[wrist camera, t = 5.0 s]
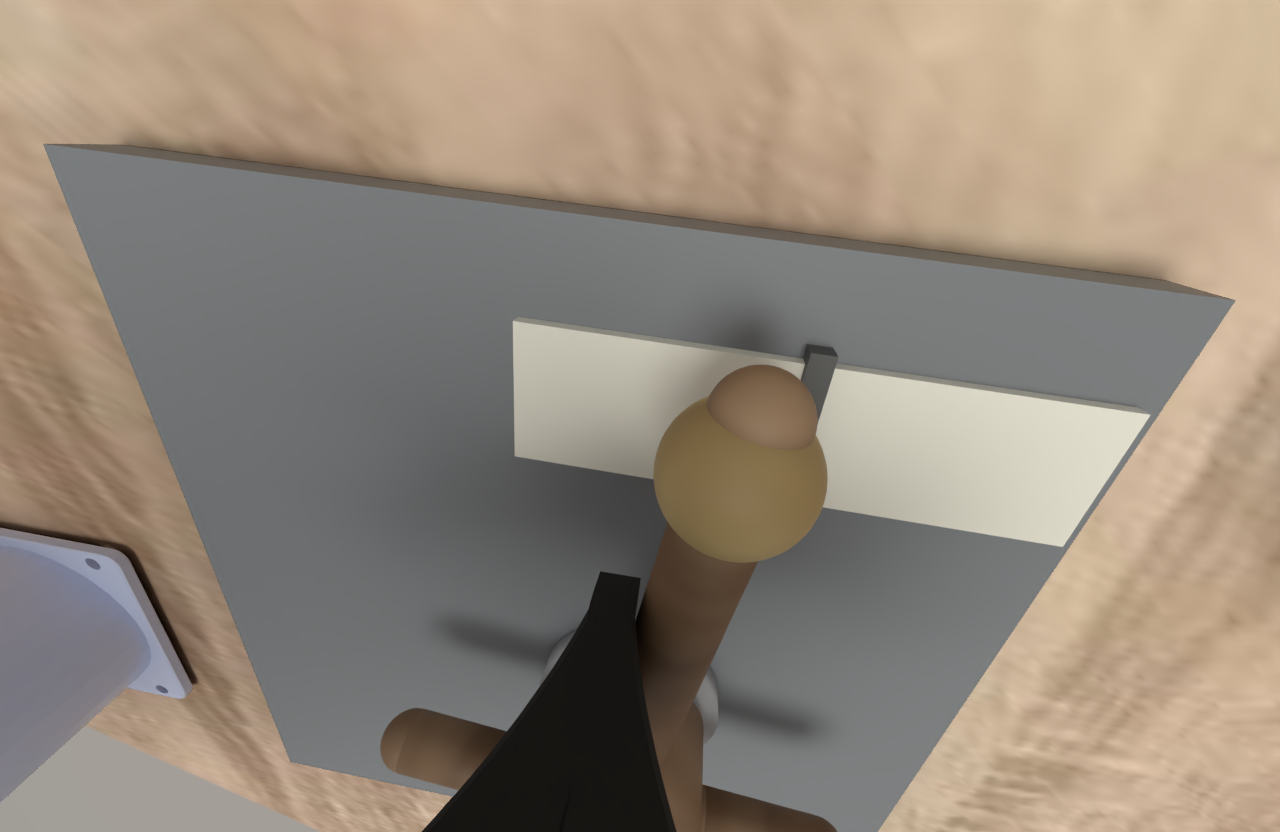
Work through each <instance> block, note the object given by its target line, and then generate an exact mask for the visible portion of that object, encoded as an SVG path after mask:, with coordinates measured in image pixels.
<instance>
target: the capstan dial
mask: <svg viewBox="0 0 1280 832" xmlns="http://www.w3.org/2000/svg"><path fill="white" fill-rule="evenodd" d="M817 423H818V417H817V410H816V405H815V402H814V400H813V397H812V395H811V393H810V392H809V390H808V389H807V387H806V386H805V384H804V383H803V382H802V381H801V380H799V379H798V378H797V377H796V376H795V375H793V374H792V373H790V372H788V371H786V370H784V369H782V368H779V367H776V366H772V365H750V366H746V367H743V368H739V369H737V370H735V371H733V372H732V373H730V374H728V375H726V376H725V377H724V378H723V379H722V380H721V381H720V382H719V383H718V384H717V385H716V386H715V388H714V389H713V390H712V392H711V394H710V396H707V397H705V398H702V399H700V400H698V401H697V402H695V403H693V404H692V405H690V406H689V407H688V408H686V409H685V410H684V411H682V412H681V413H680V414H679V415H678V416H677V417H676V418H675V419H674V420H673V422H672V423H671V424H670V426H669V427H668V428H667V430H666V432H665V433H664V435H663V437H662V439H661V441H660V444H659V447H658V449H657V453H656V457H655V462H654V477H653V478H654V487H655V493H656V497H657V500H658V503H659V506H660V508H661V510H662V513H663V515H664V517H665V518H666V520H667V525H666V528H665V531H664V534H663V538H662V541H661V544H660V547H659V550H658V553H657V556H656V559H655V562H654V565H653V568H652V571H651V574H650V578H649V581H648V584H647V587H646V590H645V593H644V596H643V599H642V602H641V605H640V608H639V611H638V614H637V618H636V621H635V623H636V636H637V647H638V655H639V663H640V669H641V676H642V682H643V689H644V695H645V701H646V706H647V712H648V717H649V722H650V726H651V731H652V736H653V741H654V745H655V750H656V754H657V759H658V763H659V767H660V771H661V775H662V779H663V783H664V787H665V791H666V795H667V799H668V802H669V806H670V810H671V813H672V817H673V821H674V824H675V828H676V831H677V832H837V830H836V829H835V827H834V826H833V825H832V824H831V823H829V822H828V821H827V820H825V819H824V818H822V817H819V816H817V815H813V814H810V813H806V812H802V811H799V810H795V809H791V808H788V807H784V806H780V805H777V804H773V803H769V802H765V801H762V800H758V799H754V798H751V797H747V796H743V795H740V794H736V793H732V792H729V791H725V790H721V789H718V788H714V787H710V786H707V785H703V784H702V782H703V734H704V727H703V720H702V716H701V714H700V712H699V710H698V708H697V707H696V705H695V704H694V702H693V701H694V699H695V697H696V695H697V693H698V690H699V688H700V686H701V684H702V682H703V680H704V677H705V675H706V673H707V671H708V669H709V667H710V664H711V662H712V660H713V658H714V656H715V654H716V651H717V649H718V647H719V645H720V643H721V641H722V638H723V636H724V634H725V632H726V630H727V628H728V625H729V623H730V621H731V619H732V617H733V615H734V612H735V610H736V608H737V606H738V604H739V602H740V599H741V597H742V595H743V593H744V591H745V589H746V586H747V584H748V582H749V580H750V578H751V576H752V573H753V571H754V569H755V567H756V565H757V563H758V561H762V560H765V559H769V558H772V557H774V556H777V555H779V554H781V553H783V552H785V551H787V550H789V549H790V548H791V547H793V546H794V545H796V544H797V543H798V542H799V541H800V540H801V539H802V538H803V537H804V536H805V535H806V534H807V533H808V532H809V531H810V529H811V528H812V527H813V525H814V523H815V522H816V520H817V518H818V517H819V515H820V512H821V510H822V508H823V504H824V501H825V497H826V493H827V480H828V474H827V465H826V460H825V456H824V453H823V449H822V447H821V445H820V442H819V440H818V438H817V436H816V435H815V434H816V431H817ZM506 732H507V731H504V730H501V729H497V728H493V727H490V726H486V725H482V724H479V723H475V722H471V721H468V720H464V719H460V718H457V717H453V716H449V715H446V714H442V713H438V712H435V711H431V710H427V709H422V708H412V709H409V710H406V711H404V712H402V713H400V714H399V715H397V716H396V717H395V718H394V719H393V720H392V721H391V722H390V723H389V724H388V726H387V728H386V729H385V731H384V733H383V736H382V739H381V745H380V752H381V758H382V760H383V763H384V764H385V765H386V767H387V768H388V769H390V770H391V771H392V772H395V773H397V774H400V775H404V776H408V777H411V778H415V779H419V780H422V781H426V782H430V783H433V784H437V785H441V786H444V787H448V788H452V789H455V790H459V789H460V788H461V787H462V786H463V785H464V783H465V782H466V781H467V780H468V779H469V778H470V776H471V775H472V774H473V773H474V772H475V770H476V769H477V768H478V767H479V766H480V764H481V763H482V762H483V761H484V759H485V758H486V757H487V756H488V755H489V753H490V752H491V751H492V750H493V748H494V747H495V746H496V745H497V743H498V742H499V741H500V740H501V738H502V737H503V736H504V735H505V733H506Z"/></svg>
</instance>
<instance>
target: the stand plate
mask: <svg viewBox="0 0 1280 832" xmlns="http://www.w3.org/2000/svg"><path fill="white" fill-rule="evenodd" d="M43 145H44V147H45V150H46V152H47V155H48V157H49V160H50V162H51V165H52V167H53V170H54V172H55V175H56V177H57V180H58V182H59V185H60V187H61V190H62V192H63V195H64V197H65V200H66V202H67V205H68V207H69V210H70V212H71V215H72V217H73V220H74V222H75V225H76V227H77V230H78V232H79V235H80V237H81V240H82V242H83V245H84V247H85V250H86V252H87V255H88V257H89V260H90V262H91V265H92V267H93V270H94V272H95V275H96V277H97V280H98V282H99V285H100V287H101V290H102V292H103V295H104V297H105V300H106V302H107V305H108V307H109V310H110V312H111V315H112V317H113V320H114V322H115V325H116V327H117V330H118V332H119V335H120V337H121V340H122V342H123V345H124V347H125V350H126V352H127V355H128V357H129V360H130V362H131V365H132V367H133V370H134V372H135V375H136V377H137V380H138V382H139V385H140V387H141V390H142V392H143V395H144V397H145V400H146V402H147V405H148V407H149V409H150V412H151V414H152V417H153V419H154V422H155V424H156V427H157V429H158V432H159V434H160V437H161V439H162V442H163V444H164V447H165V449H166V452H167V454H168V457H169V459H170V462H171V464H172V467H173V469H174V472H175V474H176V477H177V479H178V482H179V484H180V487H181V489H182V492H183V494H184V497H185V499H186V502H187V504H188V507H189V509H190V512H191V514H192V517H193V519H194V522H195V524H196V527H197V529H198V532H199V534H200V537H201V539H202V542H203V544H204V547H205V549H206V552H207V554H208V557H209V559H210V562H211V564H212V567H213V569H214V572H215V574H216V577H217V579H218V582H219V584H220V587H221V589H222V592H223V594H224V597H225V599H226V602H227V604H228V607H229V609H230V612H231V614H232V617H233V619H234V622H235V624H236V627H237V629H238V632H239V634H240V637H241V639H242V642H243V644H244V647H245V649H246V652H247V654H248V657H249V659H250V662H251V664H252V667H253V669H254V672H255V674H256V677H257V679H258V682H259V684H260V687H261V689H262V692H263V694H264V697H265V699H266V702H267V704H268V707H269V709H270V712H271V714H272V717H273V719H274V722H275V724H276V727H277V729H278V732H279V734H280V737H281V739H282V742H283V744H284V747H285V749H286V752H287V754H288V757H289V759H290V762H293V763H298V764H303V765H308V766H312V767H317V768H322V769H326V770H331V771H336V772H340V773H345V774H350V775H354V776H359V777H364V778H368V779H373V780H378V781H382V782H387V783H392V784H396V785H401V786H406V787H410V788H415V789H420V790H425V791H429V792H434V793H439V794H443V795H448V796H454V795H455V794H456V793H457V791H458V790H455V789H452V788H448V787H444V786H441V785H437V784H433V783H430V782H426V781H422V780H419V779H415V778H411V777H408V776H404V775H400V774H397V773H395V772H392V771H391V770H390V769H388V768H387V767H386V765H385V764H384V763H383V760H382V758H381V752H380V745H381V739H382V736H383V733H384V731H385V729H386V728H387V726H388V724H389V723H390V722H391V721H392V720H393V719H394V718H395V717H396V716H397V715H399V714H400V713H402V712H404V711H406V710H409V709H412V708H422V709H427V710H431V711H435V712H438V713H442V714H446V715H449V716H453V717H457V718H460V719H464V720H468V721H471V722H475V723H479V724H482V725H486V726H490V727H493V728H497V729H501V730H504V731H508V729H509V728H510V727H511V725H512V724H513V723H514V722H515V720H516V719H517V718H518V716H519V715H520V713H521V712H522V711H523V709H524V708H525V706H526V705H527V704H528V702H529V701H530V699H531V698H532V697H533V695H534V694H535V693H536V691H537V690H538V688H539V687H540V686H541V684H542V683H543V681H544V680H545V679H546V677H547V676H548V674H549V673H550V671H551V670H552V668H553V667H554V665H555V664H556V662H557V660H558V659H559V657H560V656H561V654H562V653H563V651H564V649H565V648H566V646H567V645H568V643H569V641H570V640H571V638H572V637H573V635H574V634H575V632H576V630H577V628H578V627H579V625H580V623H581V621H582V620H583V618H584V616H585V614H586V612H587V611H588V609H589V605H590V601H591V598H592V595H593V592H594V588H595V585H596V582H597V579H598V576H599V573H600V571H602V572H608V573H614V574H620V575H626V576H632V577H638V578H641V581H640V588H639V595H638V602H637V609H636V616H635V621H636V618H637V614H638V611H639V608H640V605H641V602H642V599H643V596H644V593H645V590H646V587H647V584H648V581H649V578H650V574H651V571H652V568H653V565H654V562H655V559H656V556H657V553H658V550H659V547H660V544H661V541H662V538H663V534H664V531H665V528H666V525H667V520H666V518H665V517H664V515H663V513H662V510H661V508H660V506H659V503H658V500H657V497H656V493H655V487H654V478H653V477H654V462H655V457H656V453H657V449H658V447H659V444H660V441H661V439H662V437H663V435H664V433H665V432H666V430H667V428H668V427H669V426H670V424H671V423H672V422H673V420H674V419H675V418H676V417H677V416H678V415H679V414H680V413H681V412H682V411H684V410H685V409H686V408H688V407H689V406H690V405H692V404H693V403H695V402H697V401H698V400H700V399H702V398H705V397H707V396H710V394H711V392H712V390H713V389H714V388H715V386H716V385H717V384H718V383H719V382H720V381H721V380H722V379H723V378H724V377H725V376H726V375H728V374H730V373H732V372H733V371H735V370H737V369H739V368H743V367H746V366H750V365H772V366H776V367H779V368H782V369H784V370H786V371H788V372H790V373H792V374H793V375H795V376H796V377H797V378H798V379H799V380H801V381H802V382H803V383H804V384H805V386H806V387H807V389H808V390H809V392H810V393H811V395H812V397H813V400H814V402H815V405H816V410H817V417H818V423H817V431H816V434H815V435H816V436H817V438H818V440H819V442H820V445H821V447H822V449H823V453H824V456H825V460H826V465H827V474H828V480H827V493H826V497H825V501H824V504H823V508H822V510H821V512H820V515H819V517H818V518H817V520H816V522H815V523H814V525H813V527H812V528H811V529H810V531H809V532H808V533H807V534H806V535H805V536H804V537H803V538H802V539H801V540H800V541H799V542H798V543H797V544H796V545H794V546H793V547H791V548H790V549H789V550H787V551H785V552H783V553H781V554H779V555H777V556H774V557H772V558H769V559H765V560H762V561H758V563H757V565H756V567H755V569H754V571H753V573H752V576H751V578H750V580H749V582H748V584H747V586H746V589H745V591H744V593H743V595H742V597H741V599H740V602H739V604H738V606H737V608H736V610H735V612H734V615H733V617H732V619H731V621H730V623H729V625H728V628H727V630H726V632H725V634H724V636H723V638H722V641H721V643H720V645H719V647H718V649H717V651H716V654H715V656H714V658H713V660H712V662H711V664H710V667H709V669H708V671H707V673H706V675H705V677H704V680H703V682H702V684H701V686H700V688H699V690H698V693H697V695H696V697H695V699H694V701H693V702H694V704H695V705H696V707H697V708H698V710H699V712H700V714H701V716H702V720H703V727H704V734H703V782H702V784H703V785H707V786H710V787H714V788H718V789H721V790H725V791H729V792H732V793H736V794H740V795H743V796H747V797H751V798H754V799H758V800H762V801H765V802H769V803H773V804H777V805H780V806H784V807H788V808H791V809H795V810H799V811H802V812H806V813H810V814H813V815H817V816H819V817H822V818H824V819H825V820H827V821H828V822H829V823H831V824H832V825H833V826H834V827H835V829H836V830H837V832H878V830H879V829H880V827H881V826H882V824H883V823H884V821H885V820H886V819H887V817H888V816H889V814H890V813H891V811H892V810H893V808H894V807H895V805H896V804H897V802H898V801H899V799H900V798H901V796H902V795H903V793H904V792H905V790H906V789H907V787H908V786H909V784H910V783H911V781H912V780H913V778H914V777H915V775H916V774H917V773H918V771H919V770H920V768H921V767H922V765H923V764H924V762H925V761H926V759H927V758H928V756H929V755H930V753H931V752H932V750H933V749H934V747H935V746H936V744H937V743H938V741H939V740H940V738H941V737H942V735H943V734H944V732H945V731H946V729H947V728H948V727H949V725H950V724H951V722H952V721H953V719H954V718H955V716H956V715H957V713H958V712H959V710H960V709H961V707H962V706H963V704H964V703H965V701H966V700H967V698H968V697H969V695H970V694H971V692H972V691H973V689H974V688H975V686H976V685H977V683H978V682H979V681H980V679H981V678H982V676H983V675H984V673H985V672H986V670H987V669H988V667H989V666H990V664H991V663H992V661H993V660H994V658H995V657H996V655H997V654H998V652H999V651H1000V649H1001V648H1002V646H1003V645H1004V643H1005V642H1006V640H1007V639H1008V637H1009V636H1010V635H1011V633H1012V632H1013V630H1014V629H1015V627H1016V626H1017V624H1018V623H1019V621H1020V620H1021V618H1022V617H1023V615H1024V614H1025V612H1026V611H1027V609H1028V608H1029V606H1030V605H1031V603H1032V602H1033V600H1034V599H1035V597H1036V596H1037V594H1038V593H1039V591H1040V590H1041V589H1042V587H1043V586H1044V584H1045V583H1046V581H1047V580H1048V578H1049V577H1050V575H1051V574H1052V572H1053V571H1054V569H1055V568H1056V566H1057V565H1058V563H1059V562H1060V560H1061V559H1062V557H1063V556H1064V554H1065V553H1066V551H1067V550H1068V548H1069V547H1070V545H1071V544H1072V543H1073V541H1074V540H1075V538H1076V537H1077V535H1078V534H1079V532H1080V531H1081V529H1082V528H1083V526H1084V525H1085V523H1086V522H1087V520H1088V519H1089V517H1090V516H1091V514H1092V513H1093V511H1094V510H1095V508H1096V507H1097V505H1098V504H1099V502H1100V501H1101V499H1102V498H1103V496H1104V495H1105V494H1106V492H1107V491H1108V489H1109V488H1110V486H1111V485H1112V483H1113V482H1114V480H1115V479H1116V477H1117V476H1118V474H1119V473H1120V471H1121V470H1122V468H1123V467H1124V465H1125V464H1126V462H1127V461H1128V459H1129V458H1130V456H1131V455H1132V453H1133V452H1134V450H1135V449H1136V448H1137V446H1138V445H1139V443H1140V442H1141V440H1142V439H1143V437H1144V436H1145V434H1146V433H1147V431H1148V430H1149V428H1150V427H1151V425H1152V424H1153V422H1154V421H1155V419H1156V418H1157V416H1158V415H1159V413H1160V412H1161V410H1162V409H1163V407H1164V406H1165V404H1166V403H1167V402H1168V400H1169V399H1170V397H1171V396H1172V394H1173V393H1174V391H1175V390H1176V388H1177V387H1178V385H1179V384H1180V382H1181V381H1182V379H1183V378H1184V376H1185V375H1186V373H1187V372H1188V370H1189V369H1190V367H1191V366H1192V364H1193V363H1194V361H1195V360H1196V358H1197V357H1198V356H1199V354H1200V353H1201V351H1202V350H1203V348H1204V347H1205V345H1206V344H1207V342H1208V341H1209V339H1210V338H1211V336H1212V335H1213V333H1214V332H1215V330H1216V329H1217V327H1218V326H1219V324H1220V323H1221V321H1222V320H1223V318H1224V317H1225V315H1226V314H1227V312H1228V311H1229V310H1230V308H1231V307H1232V305H1233V304H1234V302H1235V301H1236V300H1232V299H1229V298H1225V297H1222V296H1218V295H1215V294H1211V293H1208V292H1204V291H1201V290H1197V289H1194V288H1190V287H1187V286H1183V285H1180V284H1176V283H1173V282H1169V281H1166V280H1158V279H1151V278H1143V277H1135V276H1127V275H1120V274H1112V273H1104V272H1097V271H1089V270H1081V269H1074V268H1066V267H1058V266H1051V265H1043V264H1035V263H1027V262H1020V261H1012V260H1004V259H997V258H989V257H981V256H974V255H966V254H958V253H950V252H943V251H935V250H927V249H920V248H912V247H904V246H897V245H889V244H881V243H874V242H866V241H858V240H850V239H843V238H835V237H827V236H820V235H812V234H804V233H797V232H789V231H781V230H774V229H766V228H758V227H750V226H743V225H735V224H727V223H720V222H712V221H704V220H697V219H689V218H681V217H674V216H666V215H658V214H650V213H643V212H635V211H627V210H620V209H612V208H604V207H597V206H589V205H581V204H573V203H566V202H558V201H550V200H543V199H535V198H527V197H520V196H512V195H504V194H497V193H489V192H481V191H473V190H466V189H458V188H450V187H443V186H435V185H427V184H420V183H412V182H404V181H397V180H389V179H381V178H373V177H366V176H358V175H350V174H343V173H335V172H327V171H320V170H312V169H304V168H296V167H289V166H281V165H273V164H266V163H258V162H250V161H243V160H235V159H227V158H220V157H212V156H204V155H196V154H189V153H181V152H173V151H166V150H158V149H150V148H143V147H135V146H127V145H97V144H43Z"/></svg>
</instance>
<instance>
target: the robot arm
mask: <svg viewBox="0 0 1280 832" xmlns="http://www.w3.org/2000/svg"><path fill="white" fill-rule="evenodd" d="M640 581H641V578H638V577H632V576H626V575H620V574H614V573H608V572H602V571H600V573H599V576H598V579H597V582H596V585H595V588H594V592H593V595H592V598H591V601H590V605H589V609H588V611H587V612H586V614H585V616H584V618H583V620H582V621H581V623H580V625H579V627H578V628H577V630H576V632H575V634H574V635H573V637H572V638H571V640H570V641H569V643H568V645H567V646H566V648H565V649H564V651H563V653H562V654H561V656H560V657H559V659H558V660H557V662H556V664H555V665H554V667H553V668H552V670H551V671H550V673H549V674H548V676H547V677H546V679H545V680H544V681H543V683H542V684H541V686H540V687H539V688H538V690H537V691H536V693H535V694H534V695H533V697H532V698H531V699H530V701H529V702H528V704H527V705H526V706H525V708H524V709H523V711H522V712H521V713H520V715H519V716H518V718H517V719H516V720H515V722H514V723H513V724H512V725H511V727H510V728H509V729H508V731H507V732H506V733H505V735H504V736H503V737H502V738H501V740H500V741H499V742H498V743H497V745H496V746H495V747H494V748H493V750H492V751H491V752H490V753H489V755H488V756H487V757H486V758H485V759H484V761H483V762H482V763H481V764H480V766H479V767H478V768H477V769H476V770H475V772H474V773H473V774H472V775H471V776H470V778H469V779H468V780H467V781H466V782H465V783H464V785H463V786H462V787H461V788H460V789H459V790H458V791H457V793H456V794H455V795H454V796H453V797H452V798H451V799H450V801H449V802H448V803H447V804H446V805H445V806H444V807H443V809H442V810H441V811H440V812H439V813H438V814H437V815H436V817H435V818H434V819H433V820H432V821H431V822H430V823H429V824H428V825H427V827H426V828H425V829H424V830H423V831H422V832H677V831H676V828H675V824H674V821H673V817H672V813H671V810H670V806H669V802H668V799H667V795H666V791H665V787H664V783H663V779H662V775H661V771H660V767H659V763H658V759H657V754H656V750H655V745H654V741H653V736H652V731H651V726H650V722H649V717H648V712H647V706H646V701H645V695H644V689H643V682H642V676H641V669H640V663H639V655H638V647H637V636H636V623H635V616H636V609H637V602H638V595H639V588H640ZM126 688H129V689H134V690H139V691H144V692H148V693H153V694H158V695H163V696H168V697H172V698H178V699H181V698H185V697H186V696H187V695H188V694H189V693H190V692H191V691H192V689H193V687H192V684H191V682H190V680H189V678H188V676H187V674H186V672H185V670H184V668H183V666H182V664H181V662H180V660H179V658H178V656H177V654H176V652H175V650H174V648H173V646H172V644H171V642H170V640H169V638H168V636H167V634H166V632H165V630H164V628H163V626H162V624H161V622H160V620H159V618H158V616H157V614H156V612H155V610H154V608H153V606H152V604H151V602H150V600H149V598H148V596H147V594H146V592H145V590H144V588H143V586H142V584H141V582H140V580H139V578H138V576H137V574H136V572H135V570H134V568H133V566H132V564H131V562H130V560H129V559H128V558H127V556H125V555H124V554H123V553H122V552H120V551H118V550H115V549H111V548H106V547H101V546H95V545H90V544H85V543H79V542H74V541H69V540H64V539H58V538H53V537H48V536H42V535H37V534H32V533H26V532H21V531H16V530H10V529H5V528H0V802H1V801H3V800H4V799H5V798H6V797H7V796H8V795H9V794H10V793H11V792H12V791H14V790H15V789H16V788H17V787H18V786H19V785H20V784H21V783H22V782H23V781H24V780H26V779H27V778H28V777H29V776H30V775H31V774H32V773H33V772H34V771H36V770H37V769H38V768H39V767H40V766H41V765H42V764H43V763H44V762H45V761H47V760H48V759H49V758H50V757H51V756H52V755H53V754H54V753H55V752H56V751H57V750H59V749H60V748H61V747H62V746H63V745H64V744H65V743H66V742H67V741H68V740H70V739H71V738H72V737H73V736H74V735H75V734H76V733H77V732H78V731H80V730H81V729H82V728H83V727H84V726H85V725H86V724H87V723H88V722H89V721H91V720H92V719H93V718H94V717H95V716H96V715H97V714H98V713H99V712H101V711H102V710H103V709H104V708H105V707H106V706H107V705H108V704H109V703H110V702H112V701H113V700H114V699H115V698H116V697H117V696H118V695H119V694H120V693H121V692H123V691H124V690H125V689H126Z"/></svg>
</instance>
